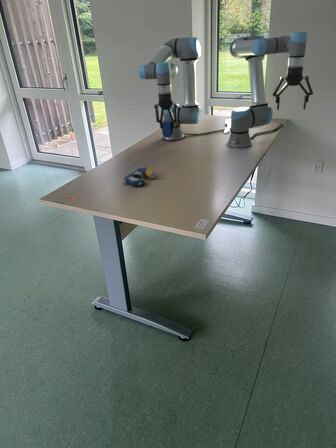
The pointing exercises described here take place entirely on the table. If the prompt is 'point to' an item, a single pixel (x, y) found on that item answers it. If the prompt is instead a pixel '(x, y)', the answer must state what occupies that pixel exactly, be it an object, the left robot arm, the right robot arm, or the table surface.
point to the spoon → (228, 125)
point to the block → (167, 128)
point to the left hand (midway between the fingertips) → (168, 133)
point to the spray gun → (139, 176)
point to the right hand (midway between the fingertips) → (290, 109)
